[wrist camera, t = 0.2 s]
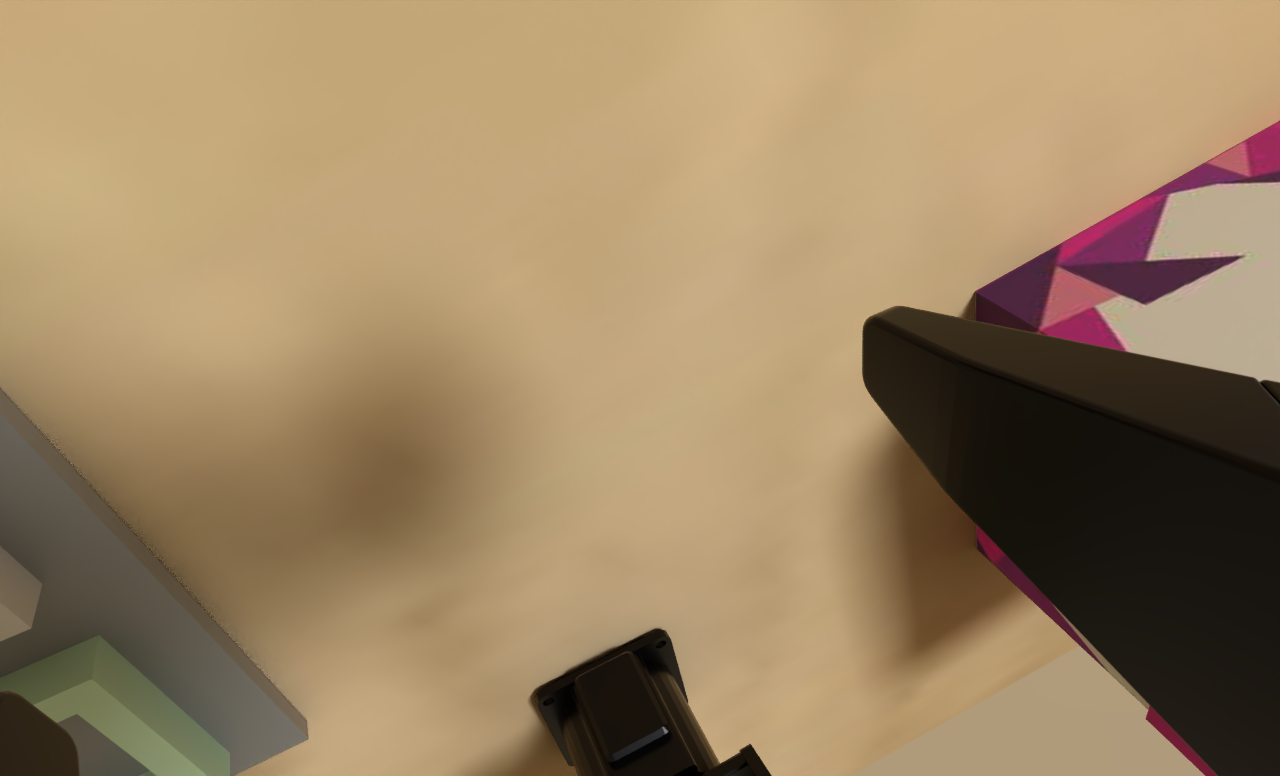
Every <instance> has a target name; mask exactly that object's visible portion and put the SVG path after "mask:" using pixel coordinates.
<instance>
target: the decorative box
mask: <svg viewBox="0 0 1280 776" xmlns="http://www.w3.org/2000/svg"><path fill="white" fill-rule="evenodd" d="M975 321H979V322H984V323H989V324H994V325H999V326H1003V327H1008V328H1013V329H1018V330H1023V331H1028V332H1033V333H1038V334H1043V335H1048V336H1053V337H1058V338H1063V339H1068V340H1072V341H1077V342H1082V343H1087V344H1092V345H1097V346H1102V347H1107V348H1112V349H1117V350H1122V351H1127V352H1132V353H1137V354H1142V355H1146V356H1151V357H1156V358H1161V359H1166V360H1171V361H1176V362H1181V363H1186V364H1191V365H1196V366H1201V367H1206V368H1211V369H1216V370H1220V371H1225V372H1230V373H1235V374H1240V375H1245V376H1250V377H1254V378H1256V379H1257V380H1258V381H1259V382H1260V381H1262V380H1271V381H1276V382H1280V121H1279V122H1277V123H1275V124H1274V125H1272V126H1270V127H1268V128H1267V129H1265V130H1263V131H1261V132H1259V133H1258V134H1256V135H1254V136H1252V137H1250V138H1249V139H1247V140H1245V141H1243V142H1242V143H1240V144H1238V145H1236V146H1234V147H1233V148H1231V149H1229V150H1227V151H1225V152H1224V153H1222V154H1220V155H1218V156H1217V157H1215V158H1213V159H1211V160H1209V161H1208V162H1206V163H1204V164H1202V165H1200V166H1199V167H1197V168H1195V169H1193V170H1192V171H1190V172H1188V173H1186V174H1184V175H1183V176H1181V177H1179V178H1177V179H1175V180H1174V181H1172V182H1170V183H1168V184H1167V185H1165V186H1163V187H1161V188H1159V189H1158V190H1156V191H1154V192H1152V193H1150V194H1149V195H1147V196H1145V197H1143V198H1142V199H1140V200H1138V201H1136V202H1134V203H1133V204H1131V205H1129V206H1127V207H1125V208H1124V209H1122V210H1120V211H1118V212H1117V213H1115V214H1113V215H1111V216H1109V217H1108V218H1106V219H1104V220H1102V221H1100V222H1099V223H1097V224H1095V225H1093V226H1092V227H1090V228H1088V229H1086V230H1084V231H1083V232H1081V233H1079V234H1077V235H1075V236H1074V237H1072V238H1070V239H1068V240H1067V241H1065V242H1063V243H1061V244H1059V245H1058V246H1056V247H1054V248H1052V249H1050V250H1049V251H1047V252H1045V253H1043V254H1042V255H1040V256H1038V257H1036V258H1034V259H1033V260H1031V261H1029V262H1027V263H1026V264H1024V265H1022V266H1020V267H1018V268H1017V269H1015V270H1013V271H1011V272H1009V273H1008V274H1006V275H1004V276H1002V277H1001V278H999V279H997V280H995V281H993V282H992V283H990V284H988V285H986V286H984V287H983V288H981V289H979V290H977V291H976V292H975ZM976 549H977V550H979V551H980V552H981V553H982V554H983V555H984V556H985V557H986V558H987V559H988V560H989V561H990V562H991V563H992V564H993V565H995V566H996V567H997V568H998V569H999V570H1000V571H1001V572H1002V573H1003V574H1004V575H1005V576H1006V577H1007V578H1008V579H1009V580H1011V581H1012V582H1013V583H1014V584H1015V585H1016V586H1017V587H1018V588H1019V589H1020V590H1021V591H1022V592H1023V593H1024V594H1025V595H1027V596H1028V597H1029V598H1030V599H1031V600H1032V601H1033V602H1034V603H1035V604H1036V605H1037V606H1038V607H1039V608H1040V609H1041V610H1043V611H1044V612H1045V613H1046V614H1047V615H1048V616H1049V617H1050V618H1051V619H1052V620H1053V621H1054V622H1055V623H1056V624H1057V625H1059V626H1060V627H1061V628H1062V629H1063V630H1064V631H1065V632H1066V633H1067V634H1068V635H1069V636H1070V637H1071V638H1072V639H1073V640H1074V641H1076V642H1077V643H1078V644H1079V645H1080V646H1081V647H1082V648H1083V649H1084V650H1085V651H1086V652H1087V653H1088V654H1089V655H1091V656H1092V657H1093V658H1094V659H1095V660H1096V661H1097V662H1098V663H1099V664H1100V665H1101V666H1102V667H1103V668H1105V669H1106V671H1108V672H1109V673H1110V674H1111V675H1112V676H1113V677H1114V678H1115V679H1116V680H1117V681H1118V682H1119V683H1120V684H1122V686H1124V687H1125V688H1126V689H1127V690H1128V691H1129V692H1130V693H1131V694H1132V695H1133V696H1134V697H1135V698H1136V699H1137V700H1139V701H1140V702H1141V703H1142V704H1143V705H1144V706H1145V707H1146V708H1147V709H1148V713H1147V716H1146V720H1148V722H1150V723H1151V724H1152V725H1153V726H1154V727H1155V728H1156V729H1157V730H1158V731H1159V732H1160V733H1161V734H1162V735H1163V736H1164V737H1165V738H1166V739H1168V740H1169V741H1170V742H1171V743H1172V744H1173V745H1174V746H1175V747H1176V748H1177V749H1178V750H1179V751H1180V752H1181V753H1182V754H1183V755H1184V756H1185V757H1186V758H1187V759H1188V760H1190V761H1191V762H1192V763H1193V764H1194V765H1195V766H1196V767H1197V768H1198V769H1199V770H1200V771H1201V772H1202V773H1203V774H1204V775H1205V776H1217V775H1216V774H1215V773H1214V772H1213V771H1212V770H1211V769H1210V768H1209V767H1208V766H1207V765H1206V764H1205V762H1204V761H1203V760H1202V759H1201V758H1200V757H1199V756H1198V755H1197V754H1196V753H1195V752H1194V751H1193V750H1192V749H1191V748H1190V747H1189V746H1188V745H1187V744H1186V743H1185V742H1184V741H1183V740H1182V738H1181V737H1180V736H1179V735H1178V734H1177V733H1176V732H1175V731H1174V730H1173V729H1172V728H1171V727H1170V726H1169V725H1168V724H1167V723H1166V722H1165V721H1164V720H1163V719H1162V718H1161V717H1160V716H1159V715H1158V713H1157V712H1156V711H1155V710H1154V709H1153V708H1152V707H1151V706H1150V705H1149V704H1148V703H1147V702H1146V701H1145V700H1144V699H1143V698H1142V697H1141V696H1140V695H1139V694H1138V693H1137V692H1136V691H1135V689H1134V688H1133V687H1132V686H1131V685H1130V684H1129V683H1128V682H1127V681H1126V680H1125V679H1124V678H1123V677H1122V676H1121V675H1120V674H1119V673H1118V672H1117V671H1116V670H1115V669H1114V668H1113V667H1112V665H1111V664H1110V663H1109V662H1108V661H1107V660H1106V659H1105V658H1104V657H1103V656H1102V655H1101V654H1100V653H1099V652H1098V651H1097V650H1096V649H1095V648H1094V647H1093V646H1092V645H1091V644H1090V643H1089V641H1088V640H1087V639H1086V638H1085V637H1084V636H1083V635H1082V634H1081V633H1080V632H1079V631H1078V630H1077V629H1076V628H1075V627H1074V626H1073V625H1072V624H1071V623H1070V622H1069V621H1068V620H1067V619H1066V618H1065V616H1064V615H1063V614H1062V613H1061V612H1060V611H1059V610H1058V609H1057V608H1056V607H1055V606H1054V605H1053V604H1052V603H1051V602H1050V601H1049V600H1048V599H1047V598H1046V597H1045V596H1044V595H1043V594H1042V592H1041V591H1040V590H1039V589H1038V588H1037V587H1036V586H1035V585H1034V584H1033V583H1032V582H1031V581H1030V580H1029V579H1028V578H1027V577H1026V576H1025V575H1024V574H1023V573H1022V572H1021V571H1020V570H1019V568H1018V567H1017V566H1016V565H1015V564H1014V563H1013V562H1012V561H1011V560H1010V559H1009V558H1008V557H1007V556H1006V555H1005V554H1004V553H1003V552H1002V551H1001V550H1000V549H999V548H998V547H997V546H996V544H995V543H994V542H993V541H992V540H991V539H990V538H989V537H988V536H987V535H986V534H985V533H984V532H983V531H982V530H981V529H980V528H979V527H978V526H977V525H976Z"/></svg>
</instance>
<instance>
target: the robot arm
mask: <svg viewBox="0 0 1280 776" xmlns="http://www.w3.org/2000/svg"><path fill="white" fill-rule="evenodd" d="M862 375H863V380H864V384H865V386H866V389H867V390H868V392H869V394H870V395H871V397H872V398H873V399H874V401H875V402H876V403H877V405H878V406H879V407H880V408H881V410H882V411H883V412H884V414H885V415H886V416H887V418H888V419H889V420H890V421H891V423H892V424H893V425H894V427H895V428H896V429H897V431H898V432H899V433H900V434H901V436H902V437H903V438H904V440H905V441H906V442H907V444H908V445H909V446H910V447H911V449H912V450H913V451H914V453H915V454H916V455H917V457H918V458H919V459H920V460H921V462H922V463H923V464H924V466H925V467H926V468H927V470H928V471H929V472H930V473H931V475H932V476H933V477H934V478H935V480H936V481H937V482H938V483H939V485H940V486H941V487H942V488H943V489H944V491H945V492H946V493H947V494H948V495H949V496H950V497H951V498H952V499H953V500H954V502H955V503H956V504H957V505H958V506H959V507H960V508H961V509H962V510H963V511H964V512H965V513H966V514H967V515H968V516H969V517H970V518H971V519H972V520H973V522H974V523H975V524H976V525H977V526H978V527H979V528H980V529H981V530H982V531H983V532H984V533H985V534H986V535H987V536H988V537H989V538H990V539H991V540H992V541H993V542H994V543H995V544H996V546H997V547H998V548H999V549H1000V550H1001V551H1002V552H1003V553H1004V554H1005V555H1006V556H1007V557H1008V558H1009V559H1010V560H1011V561H1012V562H1013V563H1014V564H1015V565H1016V566H1017V567H1018V568H1019V570H1020V571H1021V572H1022V573H1023V574H1024V575H1025V576H1026V577H1027V578H1028V579H1029V580H1030V581H1031V582H1032V583H1033V584H1034V585H1035V586H1036V587H1037V588H1038V589H1039V590H1040V591H1041V592H1042V594H1043V595H1044V596H1045V597H1046V598H1047V599H1048V600H1049V601H1050V602H1051V603H1052V604H1053V605H1054V606H1055V607H1056V608H1057V609H1058V610H1059V611H1060V612H1061V613H1062V614H1063V615H1064V616H1065V618H1066V619H1067V620H1068V621H1069V622H1070V623H1071V624H1072V625H1073V626H1074V627H1075V628H1076V629H1077V630H1078V631H1079V632H1080V633H1081V634H1082V635H1083V636H1084V637H1085V638H1086V639H1087V640H1088V641H1089V643H1090V644H1091V645H1092V646H1093V647H1094V648H1095V649H1096V650H1097V651H1098V652H1099V653H1100V654H1101V655H1102V656H1103V657H1104V658H1105V659H1106V660H1107V661H1108V662H1109V663H1110V664H1111V665H1112V667H1113V668H1114V669H1115V670H1116V671H1117V672H1118V673H1119V674H1120V675H1121V676H1122V677H1123V678H1124V679H1125V680H1126V681H1127V682H1128V683H1129V684H1130V685H1131V686H1132V687H1133V688H1134V689H1135V691H1136V692H1137V693H1138V694H1139V695H1140V696H1141V697H1142V698H1143V699H1144V700H1145V701H1146V702H1147V703H1148V704H1149V705H1150V706H1151V707H1152V708H1153V709H1154V710H1155V711H1156V712H1157V713H1158V715H1159V716H1160V717H1161V718H1162V719H1163V720H1164V721H1165V722H1166V723H1167V724H1168V725H1169V726H1170V727H1171V728H1172V729H1173V730H1174V731H1175V732H1176V733H1177V734H1178V735H1179V736H1180V737H1181V738H1182V740H1183V741H1184V742H1185V743H1186V744H1187V745H1188V746H1189V747H1190V748H1191V749H1192V750H1193V751H1194V752H1195V753H1196V754H1197V755H1198V756H1199V757H1200V758H1201V759H1202V760H1203V761H1204V762H1205V764H1206V765H1207V766H1208V767H1209V768H1210V769H1211V770H1212V771H1213V772H1214V773H1215V774H1216V775H1217V776H1280V382H1276V381H1271V380H1262V381H1260V382H1259V381H1258V380H1257V379H1256V378H1254V377H1250V376H1245V375H1240V374H1235V373H1230V372H1225V371H1220V370H1216V369H1211V368H1206V367H1201V366H1196V365H1191V364H1186V363H1181V362H1176V361H1171V360H1166V359H1161V358H1156V357H1151V356H1146V355H1142V354H1137V353H1132V352H1127V351H1122V350H1117V349H1112V348H1107V347H1102V346H1097V345H1092V344H1087V343H1082V342H1077V341H1072V340H1068V339H1063V338H1058V337H1053V336H1048V335H1043V334H1038V333H1033V332H1028V331H1023V330H1018V329H1013V328H1008V327H1003V326H999V325H994V324H989V323H984V322H979V321H974V320H969V319H964V318H959V317H954V316H949V315H944V314H939V313H934V312H929V311H925V310H920V309H915V308H910V307H905V306H894V307H891V308H889V309H886V310H884V311H882V312H879V313H877V314H875V315H873V316H870V317H869V318H868V319H867V320H866V321H865V323H864V325H863V340H862ZM535 700H536V703H537V706H538V708H539V710H540V712H541V714H542V716H543V718H544V720H545V721H546V723H547V725H548V727H549V729H550V731H551V733H552V735H553V737H554V739H555V740H556V742H557V744H558V746H559V748H560V750H561V752H562V754H563V756H564V758H565V759H566V761H567V763H568V765H569V766H574V767H575V769H576V772H577V775H578V776H771V774H770V773H769V771H768V770H767V768H766V767H765V765H764V764H763V762H762V760H761V759H760V757H759V756H758V754H757V753H756V751H755V750H754V748H753V747H752V745H751V744H749V745H747V746H746V747H744V748H742V749H740V750H739V751H740V753H738V754H736V755H735V756H733V757H731V758H729V759H728V760H726V761H724V762H722V763H721V764H720V763H719V761H718V759H717V757H716V755H715V754H714V752H713V750H712V748H711V746H710V744H709V742H708V740H707V739H706V737H705V735H704V733H703V731H702V729H701V727H700V726H699V724H698V722H697V720H696V718H695V716H694V714H693V713H692V711H691V709H690V707H689V705H688V699H687V696H686V692H685V688H684V685H683V681H682V678H681V674H680V671H679V667H678V663H677V660H676V656H675V653H674V649H673V645H672V642H671V639H670V637H669V635H668V634H667V632H666V631H665V630H658V631H656V632H654V633H652V634H650V635H648V636H646V637H644V638H642V639H640V640H638V641H636V642H634V643H632V644H630V645H628V646H626V647H624V648H622V649H620V650H618V651H616V652H614V653H612V654H610V655H608V656H606V657H604V658H602V659H600V660H598V661H596V662H594V663H592V664H590V665H588V666H586V667H584V668H582V669H580V670H578V671H576V672H574V673H572V674H570V675H568V676H566V677H565V678H563V679H561V680H559V681H557V682H555V683H553V684H551V685H549V686H547V687H545V688H543V689H541V690H540V691H538V693H537V694H536V696H535ZM0 776H80V767H79V756H78V751H77V747H76V744H75V742H74V740H73V738H72V737H71V736H70V734H69V733H68V732H67V731H66V730H65V729H64V728H63V727H61V726H60V725H59V724H57V723H56V722H55V721H54V720H52V719H51V718H50V717H48V716H47V715H46V714H44V713H43V712H42V711H40V710H39V709H38V708H37V707H35V706H34V705H33V704H31V703H30V702H29V701H27V700H26V699H25V698H24V697H22V696H21V695H19V694H17V693H16V692H11V691H6V690H5V691H0Z"/></svg>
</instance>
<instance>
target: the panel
mask: <svg viewBox="0 0 1280 776" xmlns="http://www.w3.org/2000/svg"><path fill="white" fill-rule="evenodd" d="M5 690H6V691H11V692H16V693H17V694H19V695H21V696H22V697H24V698H25V699H26V700H27V701H29V702H30V703H31V704H33V705H34V706H35V707H37V708H38V709H39V710H40V711H42V712H43V713H44V714H46V715H47V716H48V717H50V718H51V719H52V720H54V721H55V722H56V723H57V724H59V725H60V726H61V727H63V728H64V729H65V730H66V731H67V732H68V733H69V734H70V736H71V737H72V738H73V740H74V742H75V744H76V747H77V751H78V756H79V767H80V776H234V775H236V774H238V773H240V772H242V771H244V770H246V769H248V768H250V767H252V766H254V765H256V764H258V763H260V762H263V761H265V760H267V759H269V758H271V757H273V756H275V755H277V754H279V753H281V752H283V751H285V750H287V749H289V748H291V747H293V746H295V745H297V744H299V743H302V742H304V741H306V740H308V728H307V720H306V719H305V718H304V717H303V716H302V715H301V714H300V713H299V712H298V711H297V710H296V708H295V707H294V706H293V705H292V704H291V703H290V702H289V701H288V700H287V699H286V698H285V697H284V695H283V694H282V693H281V692H280V691H279V690H278V689H277V688H276V687H275V686H274V685H273V684H272V682H271V681H270V680H269V679H268V678H267V677H266V676H265V675H264V674H263V673H262V672H261V671H260V669H259V668H258V667H257V666H256V665H255V664H254V663H253V662H252V661H251V660H250V659H249V657H248V656H247V655H246V654H245V653H244V652H243V651H242V650H241V649H240V648H239V647H238V646H237V644H236V643H235V642H234V641H233V640H232V639H231V638H230V637H229V636H228V635H227V634H226V633H225V631H224V630H223V629H222V628H221V627H220V626H219V625H218V624H217V623H216V622H215V621H214V620H213V618H212V617H211V616H210V615H209V614H208V613H207V612H206V611H205V610H204V609H203V608H202V607H201V605H200V604H199V603H198V602H197V601H196V600H195V599H194V598H193V597H192V596H191V595H190V593H189V592H188V591H187V590H186V589H185V588H184V587H183V586H182V585H181V584H180V583H179V582H178V580H177V579H176V578H175V577H174V576H173V575H172V574H171V573H170V572H169V571H168V570H167V569H166V567H165V566H164V565H163V564H162V563H161V562H160V561H159V560H158V559H157V558H156V557H155V556H154V554H153V553H152V552H151V551H150V550H149V549H148V548H147V547H146V546H145V545H144V544H143V543H142V541H141V540H140V539H139V538H138V537H137V536H136V535H135V534H134V533H133V532H132V531H131V529H130V528H129V527H128V526H127V525H126V524H125V523H124V522H123V521H122V520H121V519H120V518H119V516H118V515H117V514H116V513H115V512H114V511H113V510H112V509H111V508H110V507H109V506H108V505H107V503H106V502H105V501H104V500H103V499H102V498H101V497H100V496H99V495H98V494H97V493H96V492H95V490H94V489H93V488H92V487H91V486H90V485H89V484H88V483H87V482H86V481H85V480H84V479H83V477H82V476H81V475H80V474H79V473H78V472H77V471H76V470H75V469H74V468H73V467H72V465H71V464H70V463H69V462H68V461H67V460H66V459H65V458H64V457H63V456H62V455H61V454H60V452H59V451H58V450H57V449H56V448H55V447H54V446H53V445H52V444H51V443H50V442H49V441H48V439H47V438H46V437H45V436H44V435H43V434H42V433H41V432H40V431H39V430H38V429H37V428H36V426H35V425H34V424H33V423H32V422H31V421H30V420H29V419H28V418H27V417H26V416H25V415H24V413H23V412H22V411H21V410H20V409H19V408H18V407H17V406H16V405H15V404H14V403H13V401H12V400H11V399H10V398H9V397H8V396H7V395H6V394H5V393H4V392H3V391H2V390H1V388H0V691H5Z"/></svg>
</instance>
